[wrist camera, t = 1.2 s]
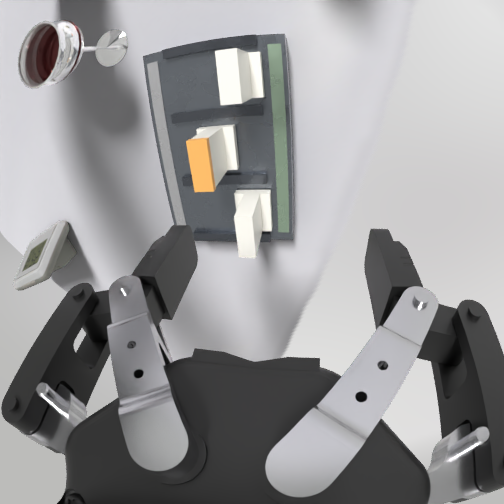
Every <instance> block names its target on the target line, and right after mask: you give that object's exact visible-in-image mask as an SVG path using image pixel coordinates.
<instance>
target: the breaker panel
mask: <svg viewBox="0 0 504 504" xmlns="http://www.w3.org/2000/svg"><path fill="white" fill-rule="evenodd" d="M232 48H238V49H241V50H243V51H246V52H261V56H262V68H263V80H264V93H265V97H261V98H251V99H249V100H248V101H246V102H244V103H242V104H230V105H221V104H220V94H219V85H218V76H217V67H216V57H215V51H217V50H224V49H232ZM143 60H144V68H145V76H146V83H147V90H148V96H149V103H150V109H151V115H152V121H153V127H154V132H155V138H156V143H157V148H158V153H159V158H160V163H161V168H162V173H163V178H164V182H165V187H166V191H167V196H168V200H169V204H170V209H171V213H172V217H173V221H174V225H189V226H190V227H191V229H192V233H193V238H194V240H195V241H237V237H236V229H235V221H234V215H235V213H236V204H235V196H234V193H235V192H236V190H271V204H272V224H273V227H272V231H262V235H261V239H260V242H270V241H271V239H287V240H293V229H294V199H293V152H292V124H291V103H290V85H289V69H288V55H287V43H286V36H285V34H270V35H245V36H236V37H228V38H221V39H214V40H208V41H202V42H197V43H192V44H187V45H182V46H177V47H173V48H169V49H165V50H162V51H160V52H157V53H153V54H149V55H146V56H143ZM233 124H235V127H236V137H237V147H238V156H239V166H240V167H239V168H238V170H227V172H226V173H225V175H224V176H223V177H222V179H221V180H220V182H219V183H218V185H217V186H216V189H215V191H214V192H195V191H194V186H193V180H192V174H191V168H190V163H189V157H188V151H187V144H186V141H187V140H189V139H191V138H193V137H194V136H196V135H197V131H196V129H198V128H200V127H209V126H220V125H233Z"/></svg>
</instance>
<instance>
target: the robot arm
mask: <svg viewBox="0 0 504 504" xmlns="http://www.w3.org/2000/svg"><path fill="white" fill-rule="evenodd" d="M197 260H198V256H197V251H196V246H195V242H194V238H193V233H192V229H191V227H190V226H189V225H173V226H172V227H171V228H170V230H169V231H168V233H167V234H166V235H165V236H162V237H161V238H159V239H158V240H157V241H155V242H154V243H153V245H152V246H151V247H150V249H149V251H148V252H147V253H146V255H145V257H143V259H142V260H141V262H140V263H139V265H138V266H137V267H136V269H135V270H134V272H133V273H132V275H130V276H124V277H121V278H119V279H118V280H116V281H115V282H114V283H113V284H112V285H111V286H110V288H109V290H106V291H100V292H95V291H94V289H93V287H92V286H91V285H90V284H89V283H82V284H78V285H76V286H75V287H73V288H72V289H71V290H70V291H69V292H68V293H67V294H66V296H65V297H64V299H63V300H62V301H61V303H60V305H59V306H58V307H57V309H56V310H55V312H54V313H53V314H52V316H51V318H50V319H49V321H48V322H47V324H46V325H45V327H44V328H43V330H42V331H41V333H40V335H39V336H38V338H37V339H36V341H35V343H34V344H33V346H32V347H31V349H30V351H29V352H28V354H27V356H26V358H25V360H24V361H23V363H22V365H21V367H20V369H19V370H18V372H17V374H16V376H15V378H14V379H13V381H12V383H11V385H10V387H9V389H8V391H7V393H6V395H5V397H4V399H3V402H2V415H3V417H4V419H5V420H6V421H7V422H9V423H10V424H11V425H13V426H14V427H16V428H17V429H18V430H20V432H21V433H23V434H24V435H26V436H28V437H29V438H30V439H32V440H34V441H35V442H37V443H38V444H40V445H42V446H45V447H47V448H49V449H50V450H52V451H54V452H56V453H62V454H64V455H65V457H66V458H65V459H66V470H67V480H66V489H65V493H64V495H63V497H62V499H61V500H60V501H59V502H58V503H57V504H444V503H447V502H452V503H457V502H461V501H465V500H468V499H472V498H475V497H478V496H481V495H484V494H487V493H490V492H493V491H495V490H498V489H500V488H503V487H504V354H503V352H502V349H501V346H500V343H499V341H498V338H497V335H496V332H495V330H494V327H493V325H492V322H491V320H490V318H489V315H488V313H487V311H486V309H485V308H484V307H483V306H482V305H481V304H480V303H478V302H476V301H473V300H464V301H462V302H461V303H460V304H459V306H458V308H457V309H455V308H452V307H447V306H444V305H441V304H438V300H437V298H436V296H435V295H434V294H433V293H432V292H431V291H430V290H428V289H426V288H423V285H422V283H421V280H420V278H419V275H418V273H417V271H416V269H415V266H414V265H413V261H412V259H411V257H410V255H409V252H408V250H407V248H406V247H405V246H403V245H402V244H401V243H400V242H399V241H393V239H392V236H391V234H390V232H389V230H388V229H371V230H370V234H369V239H368V246H367V251H366V256H365V275H366V279H367V284H368V289H369V294H370V299H371V304H372V309H373V314H374V319H375V325H376V331H375V333H374V334H373V335H372V337H371V338H370V340H369V341H368V343H367V344H366V345H365V347H364V348H363V349H362V351H361V352H360V353H359V355H358V356H357V358H356V359H355V360H354V361H353V363H352V364H351V365H350V367H349V368H348V369H347V371H346V372H345V373H344V374H343V375H342V377H341V376H340V375H338V374H336V373H334V372H332V371H330V370H327V369H324V368H321V367H320V359H319V358H296V357H286V358H279V359H273V360H266V361H259V362H252V361H249V360H246V359H243V358H240V357H237V356H234V355H231V354H228V353H225V352H219V351H211V350H203V349H196V348H195V350H194V353H193V355H192V357H188V358H183V359H179V360H176V361H174V362H173V360H172V357H171V354H170V352H169V349H168V346H167V343H166V340H165V337H164V334H163V331H162V328H161V326H160V324H159V323H160V321H161V319H169V320H172V318H173V316H174V314H175V312H176V309H177V307H178V305H179V303H180V301H181V298H182V296H183V294H184V292H185V290H186V288H187V286H188V283H189V281H190V279H191V277H192V275H193V273H194V271H195V269H196V266H197ZM81 328H83V329H84V331H85V332H86V336H85V337H84V339H83V341H82V343H81V345H80V347H79V348H78V350H77V352H76V353H75V351H74V347H73V344H74V340H75V338H76V337H77V335H78V333H79V331H80V330H81ZM110 353H111V360H112V365H113V371H114V376H115V381H116V386H117V391H118V396H119V397H118V398H117V399H115V400H114V401H113V402H111V403H109V404H108V405H106V406H105V407H103V408H102V409H100V410H99V411H97V412H96V413H94V414H93V415H91V416H89V417H88V418H86V416H87V411H86V405H87V403H88V401H89V398H90V396H91V394H92V391H93V389H94V387H95V385H96V382H97V380H98V378H99V376H100V374H101V371H102V369H103V367H104V365H105V363H106V361H107V359H108V357H109V355H110ZM416 358H419V359H424V360H428V361H431V363H432V369H433V374H434V380H435V385H436V391H437V398H438V406H439V414H440V422H441V433H442V439H441V440H440V441H439V442H438V443H437V444H436V446H435V448H434V450H433V453H432V460H431V464H430V466H429V468H428V470H426V469H425V467H424V466H423V464H422V463H421V462H420V461H419V460H418V459H417V458H416V457H415V455H414V454H413V453H412V452H411V451H410V450H409V449H408V448H407V447H406V446H405V444H404V443H403V442H402V441H401V440H400V439H399V438H398V437H397V436H396V434H395V433H394V432H393V431H392V430H391V429H390V428H389V427H388V425H387V424H386V423H385V422H384V421H383V420H382V419H381V418H382V416H383V414H384V413H385V411H386V410H387V408H388V407H389V405H390V404H391V402H392V400H393V398H394V397H395V395H396V394H397V392H398V390H399V389H400V387H401V385H402V383H403V382H404V380H405V378H406V376H407V374H408V373H409V371H410V369H411V367H412V365H413V363H414V361H415V359H416Z"/></svg>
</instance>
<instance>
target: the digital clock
mask: <svg viewBox="0 0 504 504" xmlns="http://www.w3.org/2000/svg"><path fill="white" fill-rule="evenodd" d="M68 232H69V225H68V223H67V222H66V221H58V222H57V223H55V224H54V225H52V226H51V227H49V228H48V229H47V230H45V231H44V232H43V233H41V234H40V235H39V236H37V237H36V238H35V239H33V240H32V241H31V242H30V243H29V245H28V247H27V250H26V252H25V254H24V256H23V259H22V261H21V264H20V266H19V269H18V271H17V274H16V276H15V279H14V282H13V285H14V287H15V289H17V290H24V289H27V288H29V287H31V286H34V285H36V284H38V283H41V282H43V281H45V280H47V279H49V278H50V276H51V274H52V272H53V271H56V270H58V269H60V268H62V267H65V266H66V265H67V264H68V263H69V261H70V260H71V259H72V258H73V257H74V256H75V255H76V254H77V251H76V250H75V248H74V247H73V246H72V244H71V243H70V241H69V240H68V238H67V234H68Z"/></svg>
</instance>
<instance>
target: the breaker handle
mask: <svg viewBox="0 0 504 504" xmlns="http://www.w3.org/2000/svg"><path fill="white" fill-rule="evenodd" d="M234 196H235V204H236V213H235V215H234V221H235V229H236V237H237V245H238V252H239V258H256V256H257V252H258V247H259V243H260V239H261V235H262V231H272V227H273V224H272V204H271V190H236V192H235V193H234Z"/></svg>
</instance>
